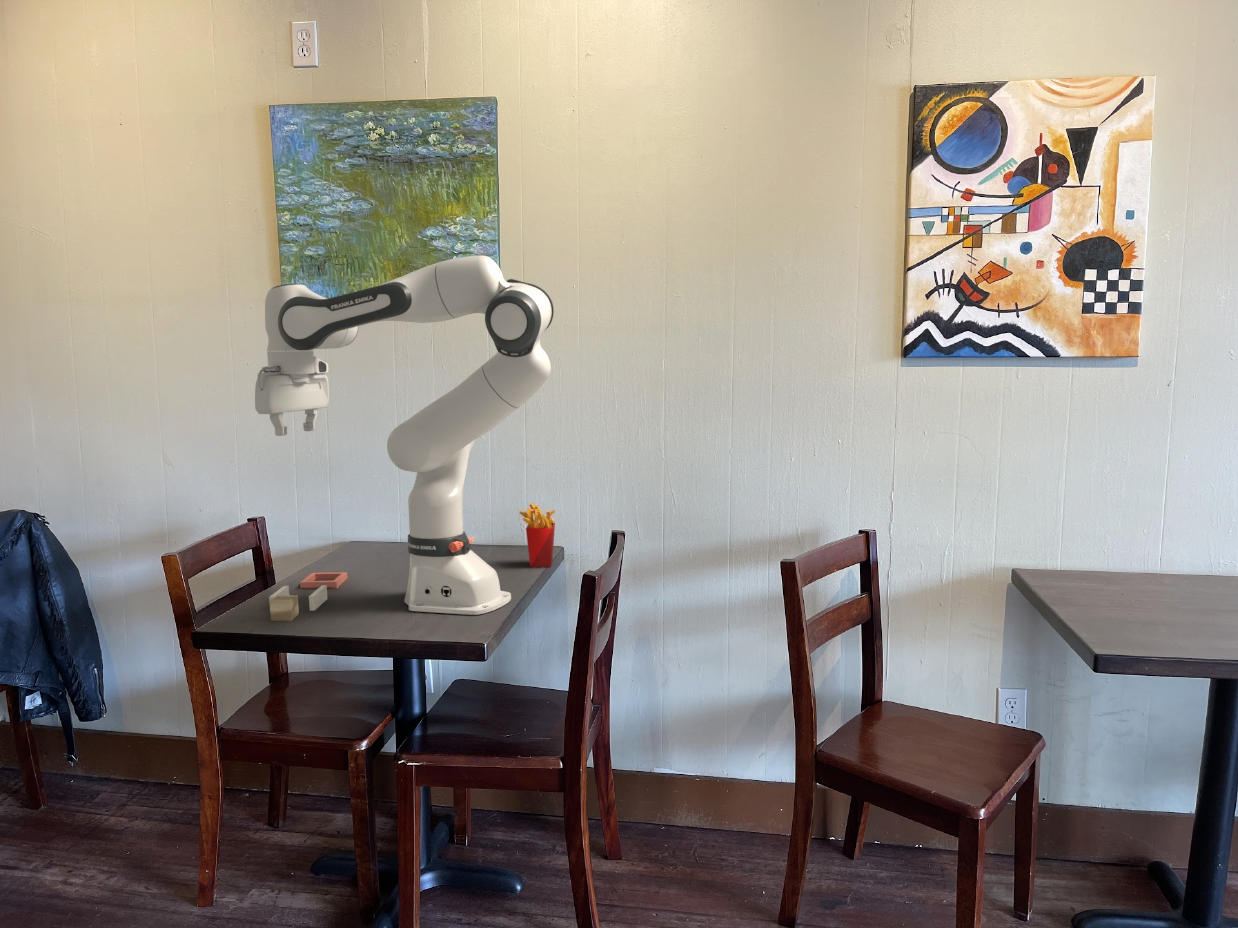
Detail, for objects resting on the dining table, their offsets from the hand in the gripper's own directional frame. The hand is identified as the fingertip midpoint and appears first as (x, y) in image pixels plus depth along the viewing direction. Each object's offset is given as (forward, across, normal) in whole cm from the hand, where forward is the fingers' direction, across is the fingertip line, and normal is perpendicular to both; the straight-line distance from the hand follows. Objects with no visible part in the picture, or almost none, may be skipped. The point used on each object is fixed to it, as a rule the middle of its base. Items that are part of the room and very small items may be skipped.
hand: (295, 433), depth 175 cm
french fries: (+36, +38, -38) cm, 65 cm away
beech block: (+36, -11, -2) cm, 37 cm away
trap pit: (+36, +12, +4) cm, 38 cm away
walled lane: (+36, -3, 0) cm, 36 cm away
